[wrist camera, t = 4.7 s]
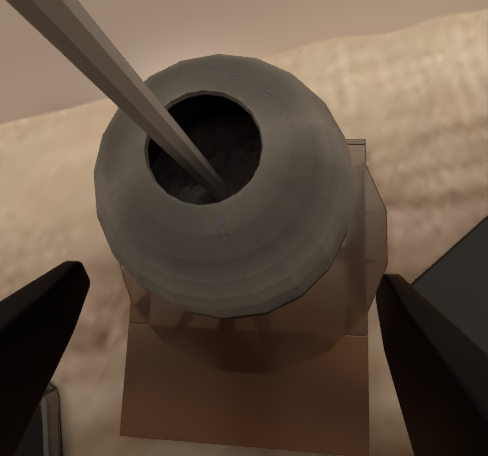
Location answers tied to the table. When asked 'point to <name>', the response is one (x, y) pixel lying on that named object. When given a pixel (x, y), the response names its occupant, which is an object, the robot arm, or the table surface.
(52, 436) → the phone
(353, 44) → the table surface
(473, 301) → the mat
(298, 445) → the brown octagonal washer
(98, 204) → the beverage cup
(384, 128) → the table surface
